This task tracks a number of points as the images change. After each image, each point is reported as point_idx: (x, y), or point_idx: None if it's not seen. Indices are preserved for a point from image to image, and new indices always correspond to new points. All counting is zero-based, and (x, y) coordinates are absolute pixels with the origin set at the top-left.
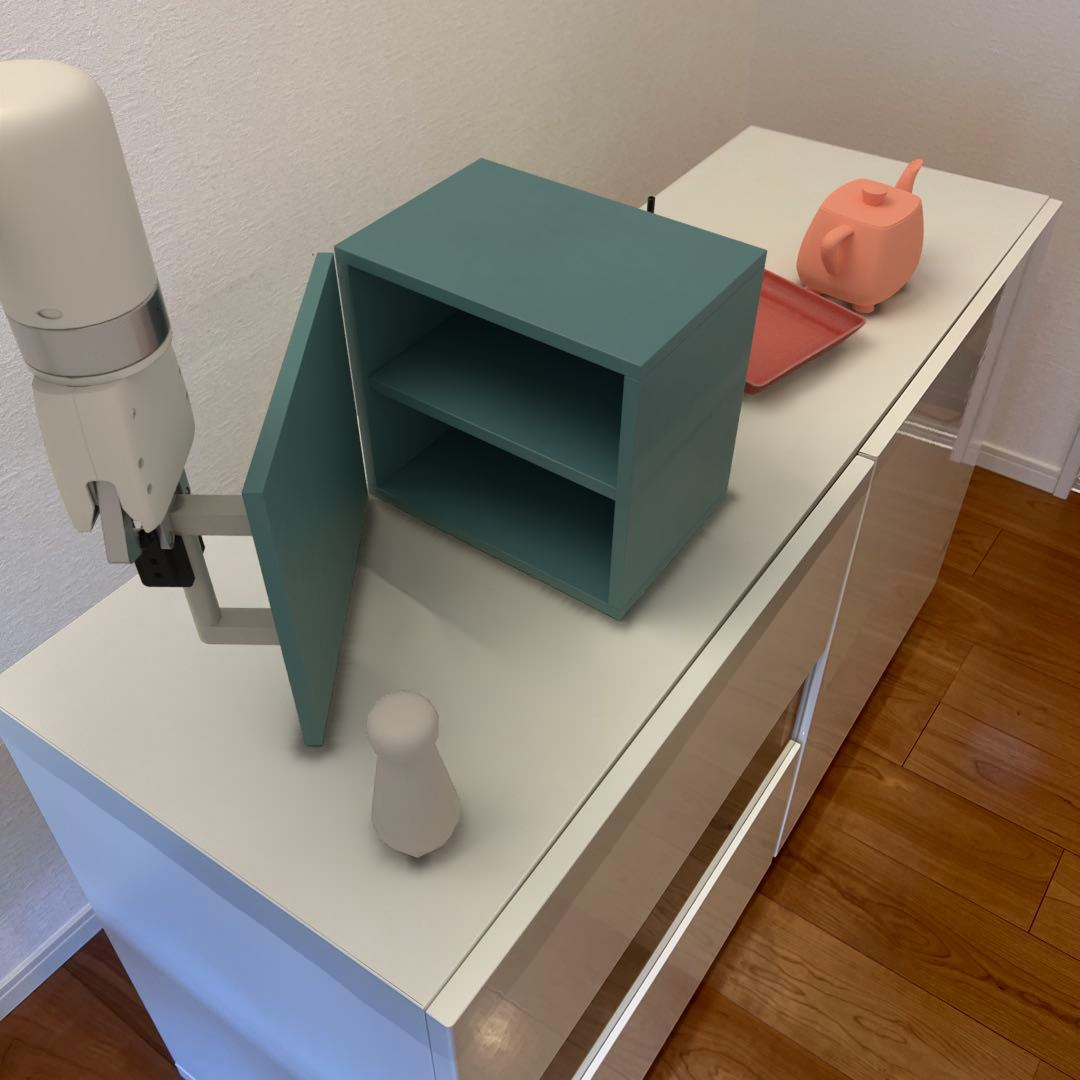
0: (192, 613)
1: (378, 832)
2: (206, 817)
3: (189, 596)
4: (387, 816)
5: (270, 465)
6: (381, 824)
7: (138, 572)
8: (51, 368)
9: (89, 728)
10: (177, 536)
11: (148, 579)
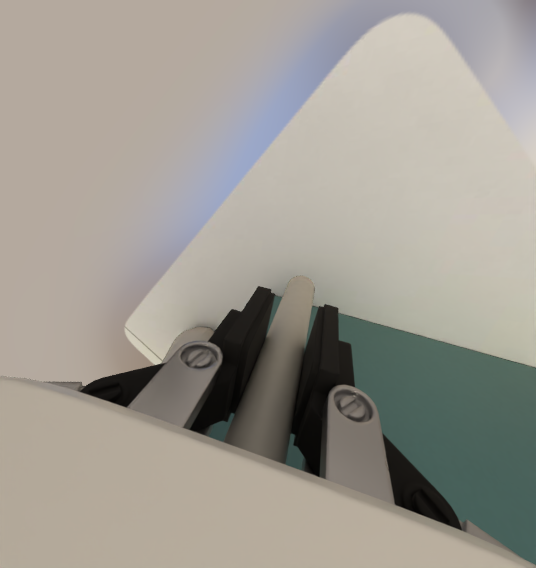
0: (285, 296)
1: (181, 334)
2: (225, 227)
3: (275, 315)
4: (169, 351)
5: None
6: (176, 341)
7: (251, 297)
8: None
9: (324, 123)
10: (225, 417)
11: (228, 313)
